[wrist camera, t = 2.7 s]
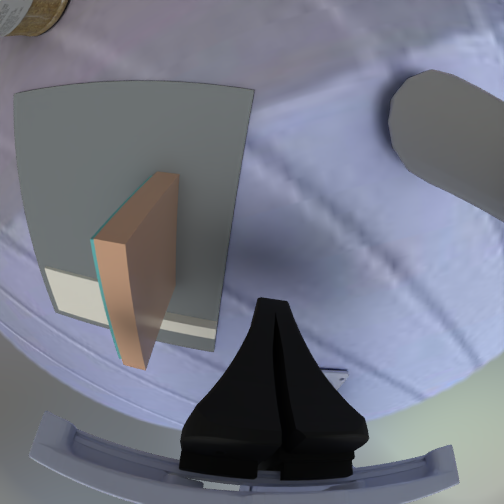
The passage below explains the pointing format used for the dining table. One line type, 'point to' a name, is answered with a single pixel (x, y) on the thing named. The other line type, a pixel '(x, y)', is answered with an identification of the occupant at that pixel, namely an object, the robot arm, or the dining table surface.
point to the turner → (91, 305)
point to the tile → (138, 266)
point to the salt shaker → (451, 137)
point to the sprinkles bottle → (29, 16)
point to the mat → (133, 176)
